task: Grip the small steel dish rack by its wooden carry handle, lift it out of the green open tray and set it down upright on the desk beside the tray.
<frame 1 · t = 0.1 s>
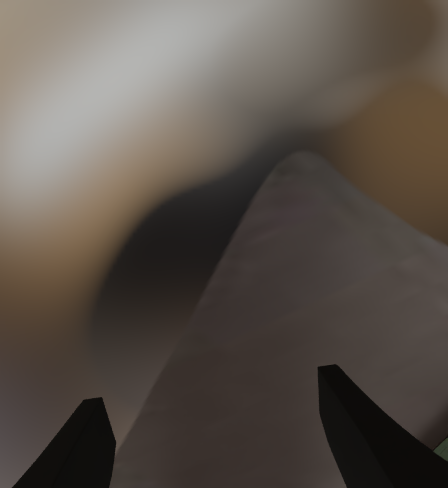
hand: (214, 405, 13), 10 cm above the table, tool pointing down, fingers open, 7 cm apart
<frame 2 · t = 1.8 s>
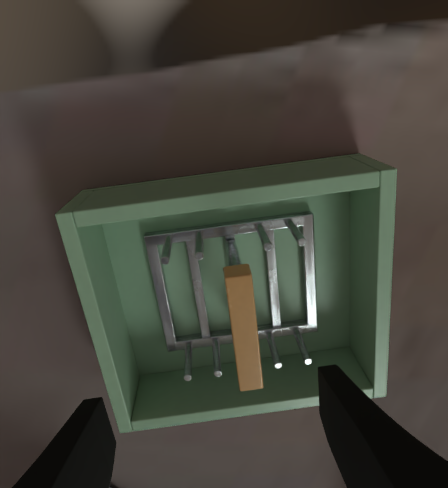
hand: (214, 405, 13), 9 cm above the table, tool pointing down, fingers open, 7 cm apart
green open tray: (234, 277, 22), on the table
dish rack: (235, 282, 21), resting on green open tray
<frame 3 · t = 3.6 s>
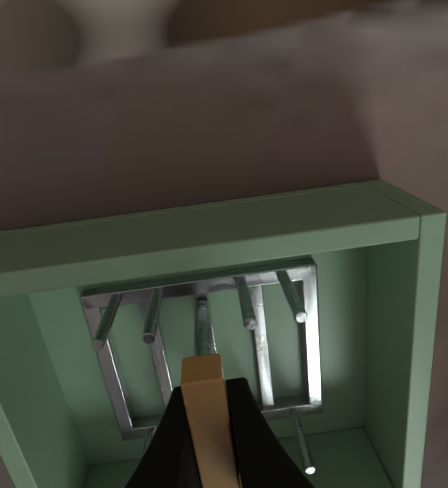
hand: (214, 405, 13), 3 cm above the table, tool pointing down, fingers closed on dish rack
green open tray: (211, 343, 16), on the table
dish rack: (211, 350, 16), resting on green open tray, touching gripper
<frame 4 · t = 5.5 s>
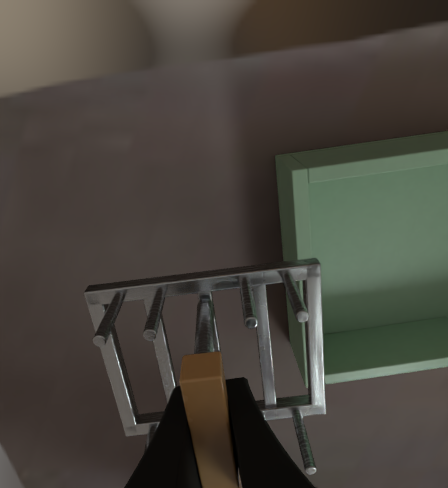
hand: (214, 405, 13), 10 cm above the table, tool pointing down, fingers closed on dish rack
green open tray: (401, 241, 23), on the table
dish rack: (214, 348, 16), point 7 cm above the table, touching gripper
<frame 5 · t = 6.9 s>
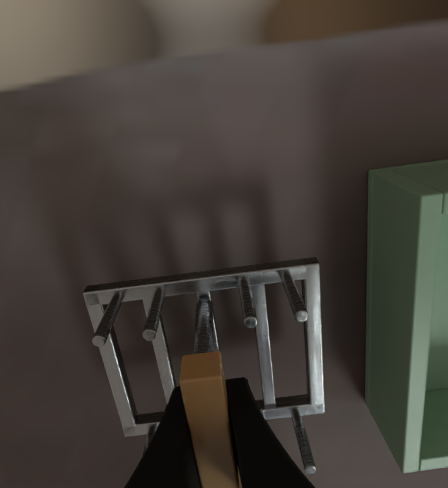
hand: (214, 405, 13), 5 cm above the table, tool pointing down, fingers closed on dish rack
dish rack: (213, 348, 16), point 2 cm above the table, touching gripper
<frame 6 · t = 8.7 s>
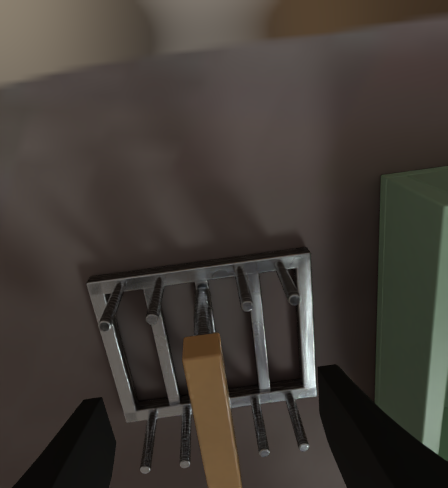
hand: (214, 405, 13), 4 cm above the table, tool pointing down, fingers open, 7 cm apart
dish rack: (210, 336, 16), on the table
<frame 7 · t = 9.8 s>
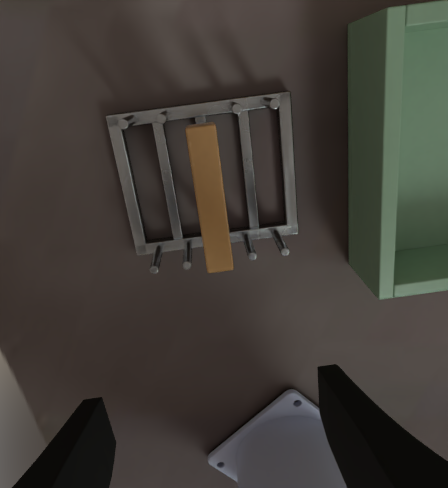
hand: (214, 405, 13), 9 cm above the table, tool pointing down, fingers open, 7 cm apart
dish rack: (208, 176, 20), on the table
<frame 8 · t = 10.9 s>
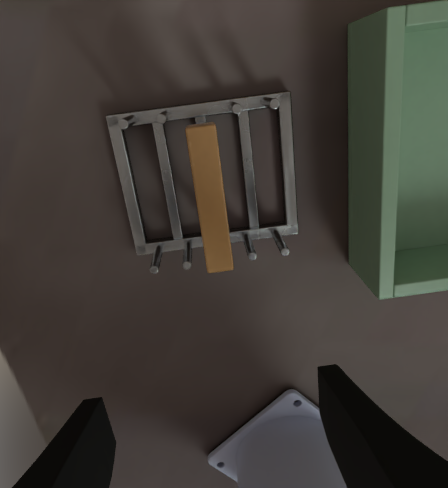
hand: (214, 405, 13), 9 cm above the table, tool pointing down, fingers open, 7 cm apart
dish rack: (208, 176, 20), on the table
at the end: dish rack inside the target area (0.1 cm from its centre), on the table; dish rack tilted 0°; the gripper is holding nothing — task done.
